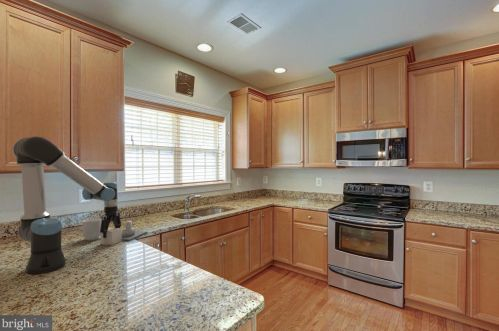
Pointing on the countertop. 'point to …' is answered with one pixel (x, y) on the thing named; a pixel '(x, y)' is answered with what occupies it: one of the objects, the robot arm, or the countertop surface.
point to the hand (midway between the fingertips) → (111, 240)
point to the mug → (92, 228)
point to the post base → (137, 234)
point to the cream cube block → (112, 236)
